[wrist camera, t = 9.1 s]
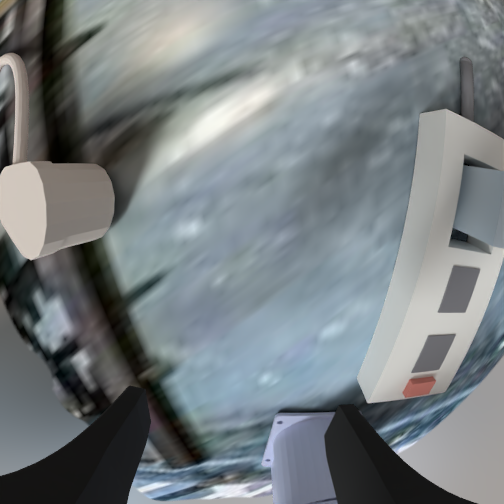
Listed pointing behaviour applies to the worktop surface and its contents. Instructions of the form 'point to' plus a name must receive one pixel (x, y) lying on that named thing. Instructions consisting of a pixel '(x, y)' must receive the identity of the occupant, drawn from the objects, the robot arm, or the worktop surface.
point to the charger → (481, 205)
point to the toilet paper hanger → (49, 190)
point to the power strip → (435, 263)
